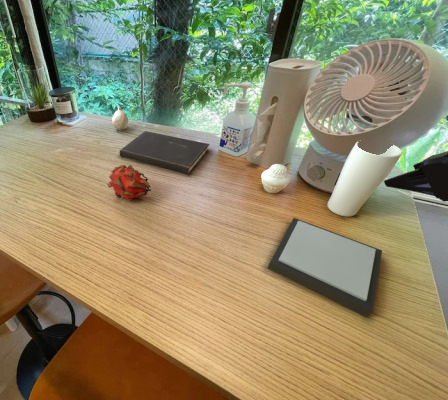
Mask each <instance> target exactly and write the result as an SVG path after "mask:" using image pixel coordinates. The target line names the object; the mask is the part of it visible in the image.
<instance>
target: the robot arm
mask: <svg viewBox="0 0 448 400" xmlns="http://www.w3.org/2000/svg"><path fill="white" fill-rule="evenodd" d="M445 119H446V121H448V115H446V117H445ZM412 167H413V170H411V171H408V172H405V173H401V174H397V175H396V176H393V177H390V178H387V179H384V180H383V183H384V185H385V187H387V188H391V189H398V190H404V191H410V192H415V193H419V194H424V195H429V196H431V197H432V196H433V197H435V198H436V199H439V200H440V201H442V202H443V203H446V202H448V150H446V151H442V152H440V153H436V154H432V155H430V156H428V157H427V158H425V159H423V160H422V161H420V162H417V163H414V164H413V165H412Z"/></svg>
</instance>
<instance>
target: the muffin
mask: <svg viewBox="0 0 448 400" xmlns="http://www.w3.org/2000/svg"><path fill="white" fill-rule="evenodd" d="M260 176H261V177H260V178H261V183H262V187H263V189H264V191H265V192H267V193H270V194H276V193H279V192H280V191H282V190H283V189H285V188H286V187H287V185H289V184H290V182H291V176H290V174H289V173H288V168H287V167H286V165H283V164H281V163H275V164H272V165H271V166H270V167H269V168H268V169H265V170H264V171H263V172H261V175H260Z"/></svg>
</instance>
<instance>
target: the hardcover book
mask: <svg viewBox="0 0 448 400" xmlns="http://www.w3.org/2000/svg"><path fill="white" fill-rule="evenodd" d="M209 146H210V143H205V142H202V141H196V140H191V139H187V138H181V137H178V136H172V135H167V134H162V133H157V132H152V131H147V130H145V131H143V132H142V133H141V134H139V135H138V136H137V137H136V138H134V139H133V140H131V141H130V142H129V143H128V144H126V145H124V146H123V147H122V148H121V149H119V157H121V158H126V159H129V160H132V161H136V162H140V163H143V164H147V165H151V166H155V167H159V168H162V169H166V170H169V171H173V172H177V173H180V174H184V175H187V176H188V175H190V174H191V173H192V171H193V170H194V169H195V168H196V167H197V166H198V165H199V163H200V162H201V160H202V159H203V158H204V157H205V156H206V154H207V153H208V152H209V149H208V148H209Z"/></svg>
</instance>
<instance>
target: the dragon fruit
mask: <svg viewBox="0 0 448 400" xmlns="http://www.w3.org/2000/svg"><path fill="white" fill-rule="evenodd" d="M141 176H142V177H141ZM108 178H109V179H110V181H109V182H108V183H107V184H106V185H107V187H108V188H113V190H114V194H115V196H116V197H117V199H121V198H122V197H123V198H125V199H127V200H130V201H133V202H136V201H140V200H141V198H140V197H141V196H142V197H143V196H147V195H148V193H149V192H152V189H151V188H152V186H151V185H150V183H149V182H148V181H149V178H148V177H147V176H145V174H144V173H143V172H139V170H136V169H135V167H134V166H133V165H131V164H129V165H126V164H120V165H119V166H115V167H114V168H113V169H112V171H111V173H110V174H109V176H108Z"/></svg>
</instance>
